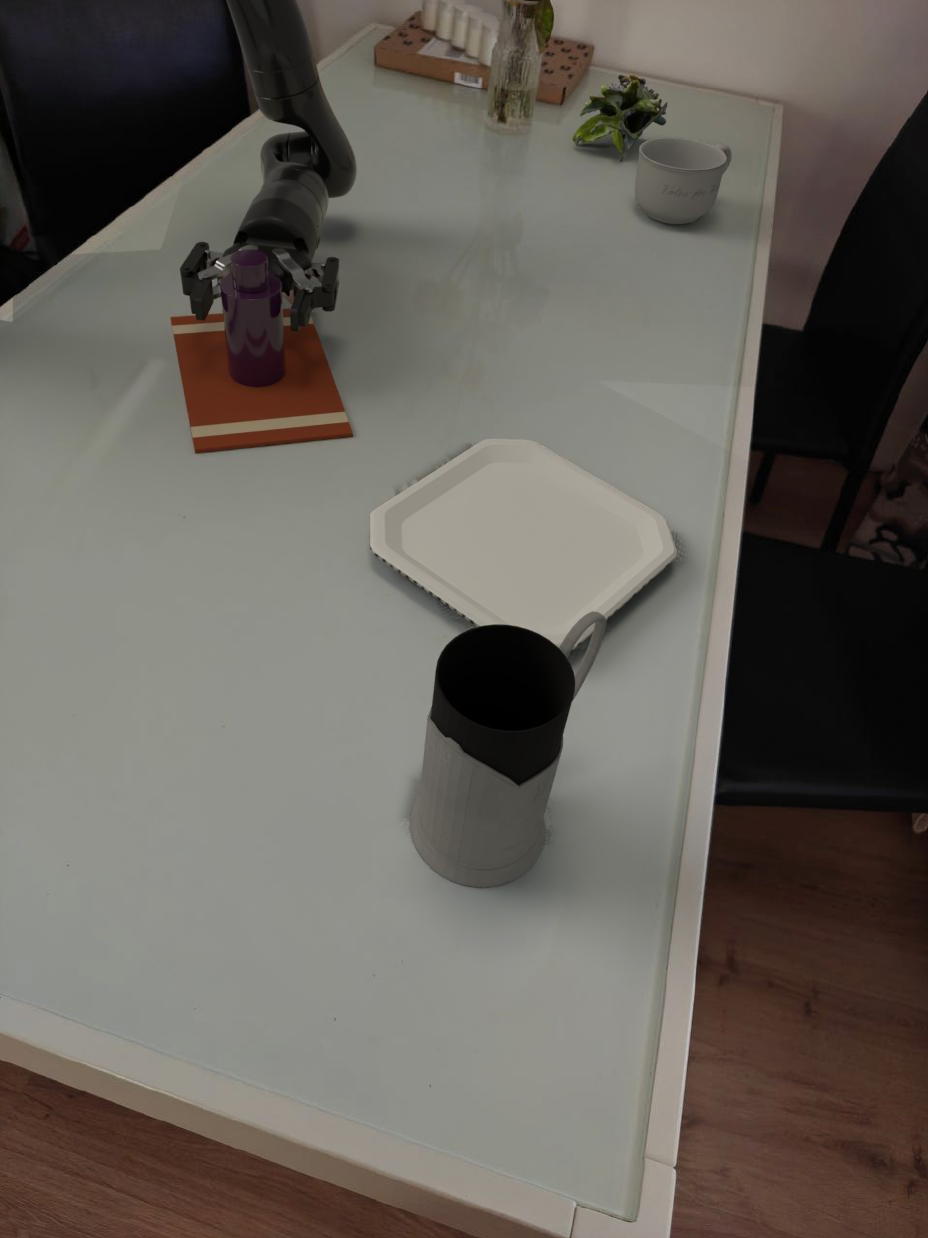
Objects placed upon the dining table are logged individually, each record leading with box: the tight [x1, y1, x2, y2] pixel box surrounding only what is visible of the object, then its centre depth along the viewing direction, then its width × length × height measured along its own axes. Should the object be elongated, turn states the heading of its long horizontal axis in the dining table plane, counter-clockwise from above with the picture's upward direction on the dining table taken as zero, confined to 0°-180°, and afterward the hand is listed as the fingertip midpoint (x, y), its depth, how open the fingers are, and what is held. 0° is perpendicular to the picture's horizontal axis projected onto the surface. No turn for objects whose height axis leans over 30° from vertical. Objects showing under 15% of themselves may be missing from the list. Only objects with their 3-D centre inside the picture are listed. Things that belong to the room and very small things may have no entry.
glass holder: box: [409, 611, 608, 888], centre depth 60 cm, size 9×14×15 cm, turn 138°
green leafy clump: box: [572, 74, 668, 162], centre depth 138 cm, size 11×11×12 cm
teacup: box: [634, 136, 733, 225], centre depth 125 cm, size 14×11×8 cm
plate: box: [369, 438, 678, 651], centre depth 81 cm, size 21×21×2 cm
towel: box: [170, 308, 354, 454], centre depth 95 cm, size 22×14×1 cm, turn 17°
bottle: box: [220, 249, 286, 387], centre depth 91 cm, size 5×5×12 cm
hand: (246, 316), depth 89 cm, fingers open, 8 cm apart
